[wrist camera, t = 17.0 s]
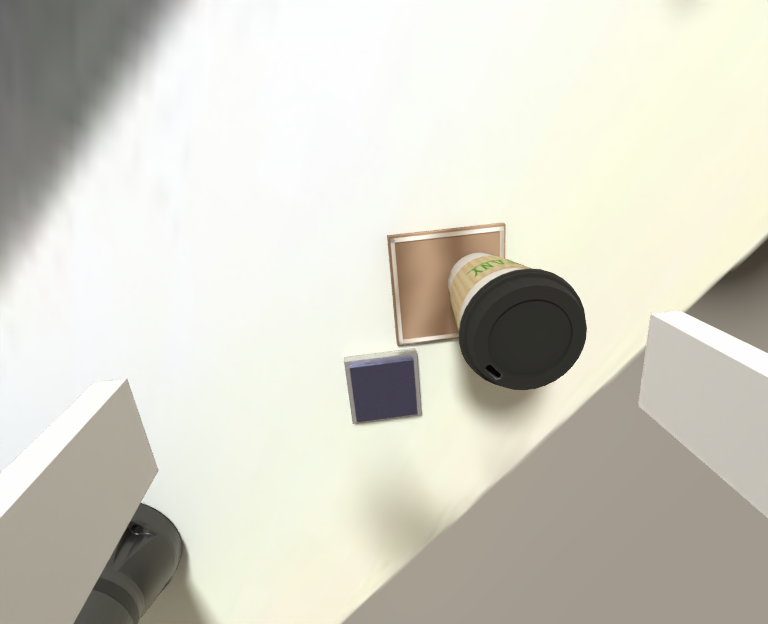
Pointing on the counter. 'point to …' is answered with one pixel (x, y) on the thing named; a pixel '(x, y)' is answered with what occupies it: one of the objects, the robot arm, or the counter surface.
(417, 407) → the ink pad
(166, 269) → the counter surface
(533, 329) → the coffee cup
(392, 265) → the board
